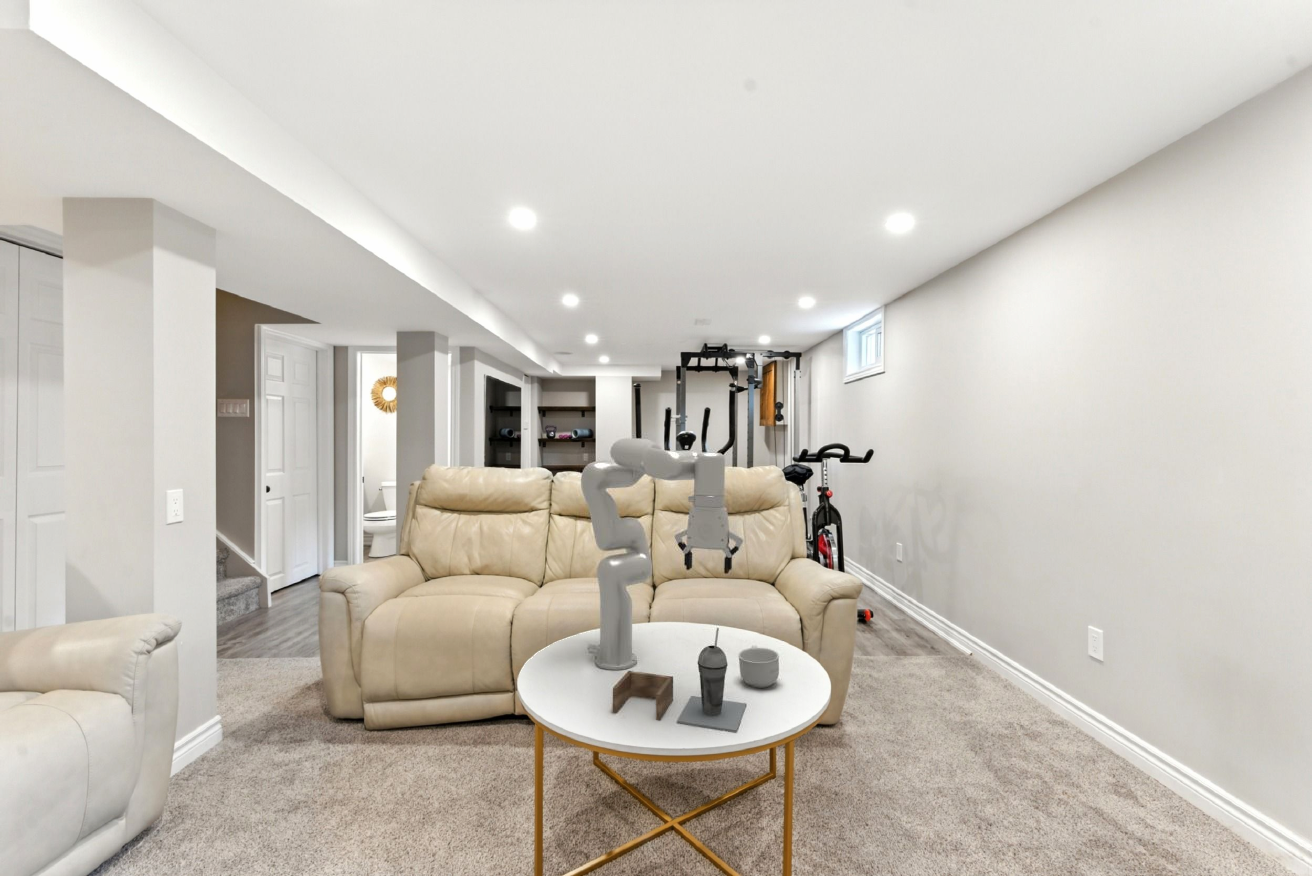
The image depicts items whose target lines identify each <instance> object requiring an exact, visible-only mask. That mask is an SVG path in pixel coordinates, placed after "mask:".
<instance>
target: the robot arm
mask: <svg viewBox="0 0 1312 876" xmlns="http://www.w3.org/2000/svg"><path fill="white" fill-rule="evenodd" d="M609 454H610V458H611V459H612V460H598V461H593V462H590V463H588V464H586V466H585V467H584V468H583V470H582V473H581V476H580V487H581V491H582V494H583V496H584V500H585V502H586V504H587V507H588V510H589V514H590V520H591V525H592V531H593V535H594V539H595V544H596V545H597V548H598V549H599V550H600V551H602V552H613V551H614V552H615V551H619V550H625V551H626V553H619V554H613V555H608V556H606V557H604V558H602V559H601V560H600V561H599V562H598V564H597V568H596V576H597V581H598V587H599V604H600V605H599V610H600V612H599V615H600V617H599V618H600V619H599V620H600V621H599V622H600V623H599V644H598V645H597V644H592V643H590V644H588V646H587V651H588V652H587V653H588V654H595V657H594V664H595V666H596V667H599V668H601V669H604V670H612V671H615V670H616V671H617V670H619V671H620V670H626V669H630V668H632V667H634V666H635V665H636V664H637V663H638V657H637V655H636V654H635V653H633V600H632V597H631V595H630V593H629V591H628V590H627V587H628V586H633V585H637V584H642V583H645V582H647V581H649V580H650V579H651V577H652V574H653V562H652V561H653V560H652V557H651V552H650V549H649V544H648V540H647V539H648V538H647V536H646V531H645V528H644V526H643V525H642V523H641V522H640V521H639V520H638V519H637V518H635V517H621V516H620V515H619V510H618V505H617V503H616V501H615V499H614V498H613V496H612V495H611V494H610V493H609V492H608V491H607V489H619V488H620V489H621V488H631V487H632V486H635V485H636V484H637V483H638V482H640V481H641V479H642V478H643V477H644V476H645V475H646V476H648V477H651V478H654V479H658V480H664V481H684V480H685V481H689V480H690V481H691V480H693V495H691V496H688V498H687V499H688V502H690V503H692V505H693V506H690V509H689V513H688V520H687V528H686V529H685V530H683V531H681V532H678V533H676V534H675V535H674V539H675V542H676V544H677V546H678V548H679V549H680V550H681V551H682V553H683V554H684V560H683V561H684V562H683V563H684V566H685V569H686V571H690V570H691V569H692V568H693V552H692V550H693V549H705V550H715V551H716V550H719V551H720V550H722V552H723V554H724V555H725V557H724V562H723V563H724V564H723V565H724V566H723V567H724V568H723V569H724V572H723V573H724V575H727V574H729V572H730V571H731V570H732V568H733V566H732V565H733V556H734V555H735V554H736V553H737V552H738V551H739V550H740V548H741V547H742V545H743V543H744V539H743V538H741V537H739V535H737V534H734V532H732V531H730V525H729V516H728V509H727V507H725V483H726V482H725V475H726V474H725V473H726V459H725V456H724V454H722V453H721V452H713V451H711V452H710V451H709V452H705V451H700V450H664V449H662V447H661V446H660V445H659V444H658V443H656V442H654V441H653V440H651V439H648V438H640V437H639V438H630V437H629V438H628V437H627V438H620V439H618V440H616V441H615V442H614V443H613V444H612V446H611V447H610V451H609ZM683 537H686V543H685V542H684V540H683ZM730 540H732V541H733V542H734V543H735V545H734V546H733V547H732V548H731V547H730V546H729V544H730Z"/></svg>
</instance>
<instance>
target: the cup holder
mask: <svg viewBox="0 0 1312 876" xmlns="http://www.w3.org/2000/svg"><path fill="white" fill-rule="evenodd" d="M631 697H636V698H641V699H648V700H655V703H656V704H655V705H656V706H655V709H656V710H655V711H656V712H655V720H656V721H661V720H662V719H663V717H664V716H665V714H666V712H667V710H669V707H671V705H672V703H673V702H674V676H671V675H663V674H657V673H649V672H642V671H641V672H640V671H633V670H628V671H627V672H626V673H625V674H624V675H623V676H622V677H621V678H620V680H618V681H617V682H616V684H615V685H613V687H612V714H618V713H619V711H620V710H621V709H622V708H623V706H624V705H625V704H626V702H628V700H629V699H630V698H631Z"/></svg>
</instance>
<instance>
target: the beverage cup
mask: <svg viewBox="0 0 1312 876" xmlns="http://www.w3.org/2000/svg"><path fill="white" fill-rule="evenodd" d="M719 630H720V629H719V627H716V630H715V637H714V645H707V646H705V647H704V648H703V649H702V650H701V651H700V652H699V655H698V659H697V667H698V672H699V680H700V681H699V682H700V683H699V684H700V697H701V699H702V709H703V713H704V714H706V715H709V716H717V715H720V714H721V710H722V703H723V700H724V692H725V691H724V690H725V681H726V674H727V669H728V660H727V656H726V654H725V652H724V650H723V649H722V648H721V647H719V646H717V645H718V639H719V638H718V637H719Z"/></svg>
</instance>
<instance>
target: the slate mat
mask: <svg viewBox="0 0 1312 876" xmlns="http://www.w3.org/2000/svg"><path fill="white" fill-rule="evenodd" d="M746 707H747V703H745V702H738V701H731V700H725V699H723V703H722V710H721V714H720V715H717V716H709V715H706V714H704V713H703V709H702V699H701V696H696V695H691V696H690V697H689V699H688V701H687V702H686V704H685V705H684V708H683V710H682V712H681V713H680V715H679V716H678V718H677V720H676V724H680V725H685V726H693V727H697V728H698V727H699V728H704V729H705V728H706V729H710V728H711V730H717V729H718V731H723V730H725V732H729V733H736V732H737V733H738V731H739V727H740V724H741V721H742V719H743V716H744V713H745V711H746ZM737 730H738V731H737Z"/></svg>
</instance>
